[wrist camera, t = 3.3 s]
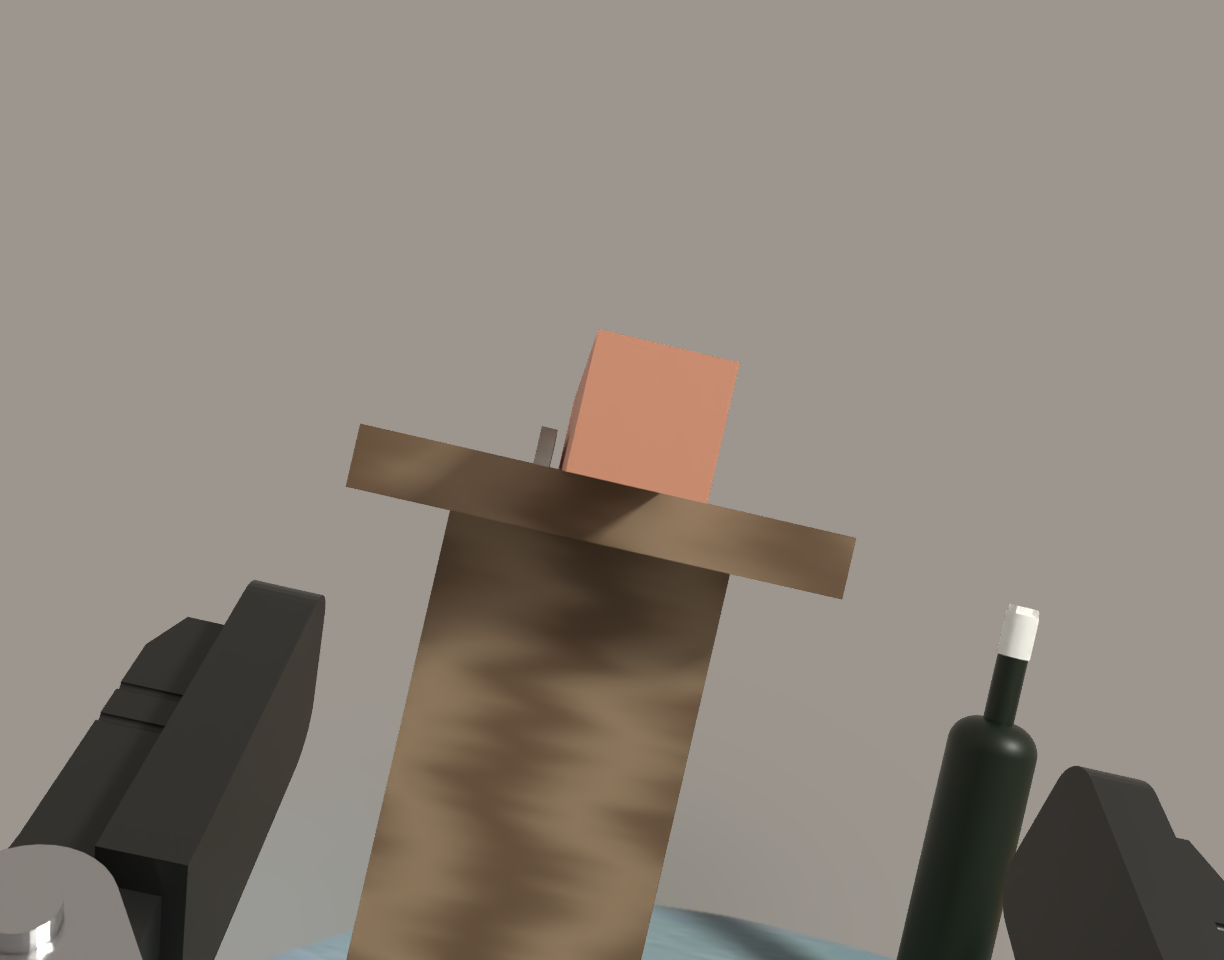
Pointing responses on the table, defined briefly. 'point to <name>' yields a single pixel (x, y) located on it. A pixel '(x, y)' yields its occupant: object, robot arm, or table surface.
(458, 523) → the wooden pedestal
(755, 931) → the table surface
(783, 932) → the table surface
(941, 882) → the wine bottle
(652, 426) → the stick
